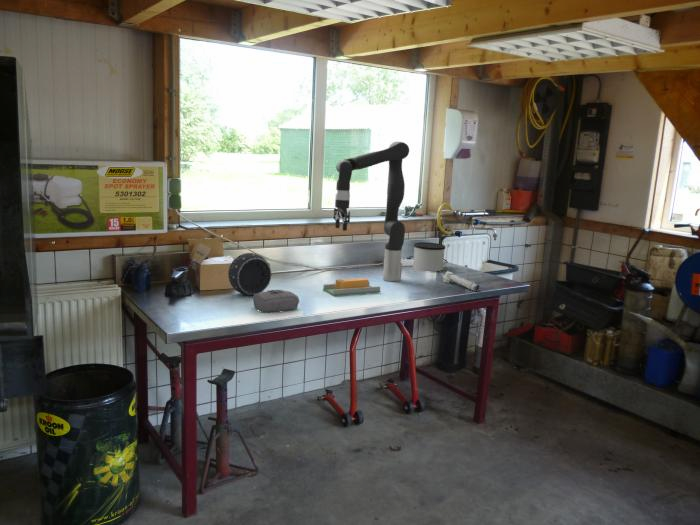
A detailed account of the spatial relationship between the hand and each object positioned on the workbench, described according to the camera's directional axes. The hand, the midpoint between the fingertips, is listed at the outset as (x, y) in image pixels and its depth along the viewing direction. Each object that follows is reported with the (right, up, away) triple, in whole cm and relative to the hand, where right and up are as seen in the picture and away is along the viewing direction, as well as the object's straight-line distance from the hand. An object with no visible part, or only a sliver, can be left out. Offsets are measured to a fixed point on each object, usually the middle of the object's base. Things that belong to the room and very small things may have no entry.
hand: (340, 229), depth 317 cm
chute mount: (+6, -32, -16) cm, 37 cm away
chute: (+6, -31, -16) cm, 36 cm away
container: (+53, -22, +50) cm, 76 cm away
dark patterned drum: (-43, -33, -33) cm, 64 cm away
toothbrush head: (+65, -31, +9) cm, 73 cm away
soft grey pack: (-27, -38, -53) cm, 71 cm away
